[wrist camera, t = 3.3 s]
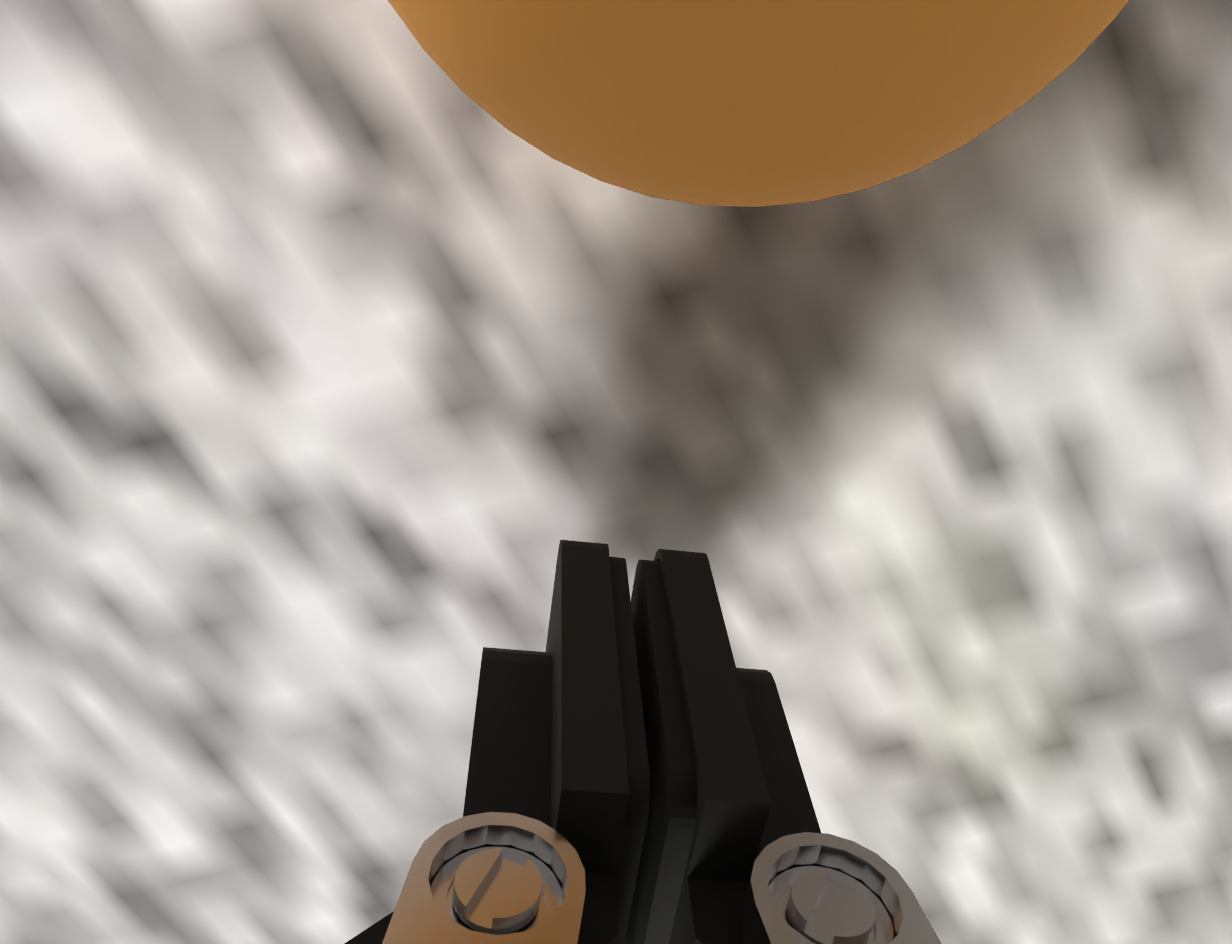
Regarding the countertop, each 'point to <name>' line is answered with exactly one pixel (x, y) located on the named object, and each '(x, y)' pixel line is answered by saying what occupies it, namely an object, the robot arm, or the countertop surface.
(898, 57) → the ball
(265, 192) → the countertop surface
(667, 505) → the countertop surface
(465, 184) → the countertop surface
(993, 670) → the countertop surface
